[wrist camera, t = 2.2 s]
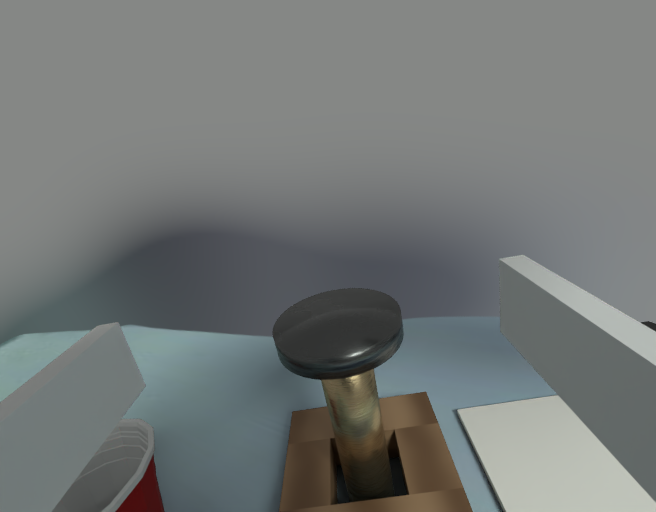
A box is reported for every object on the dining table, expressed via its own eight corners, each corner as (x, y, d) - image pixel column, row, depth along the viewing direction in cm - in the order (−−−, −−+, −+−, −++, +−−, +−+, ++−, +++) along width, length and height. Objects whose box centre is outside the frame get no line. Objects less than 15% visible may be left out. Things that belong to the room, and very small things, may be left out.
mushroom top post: (410, 441, 33) (388, 280, 27) (439, 546, 24) (415, 343, 19) (321, 454, 34) (281, 299, 28) (319, 560, 25) (261, 367, 19)
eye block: (428, 418, 35) (425, 391, 34) (489, 584, 22) (487, 550, 21) (299, 436, 36) (292, 411, 35) (282, 608, 23) (270, 576, 22)
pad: (594, 394, 34) (595, 389, 34) (763, 554, 21) (765, 547, 21) (457, 414, 35) (457, 409, 35) (536, 579, 22) (536, 573, 22)
